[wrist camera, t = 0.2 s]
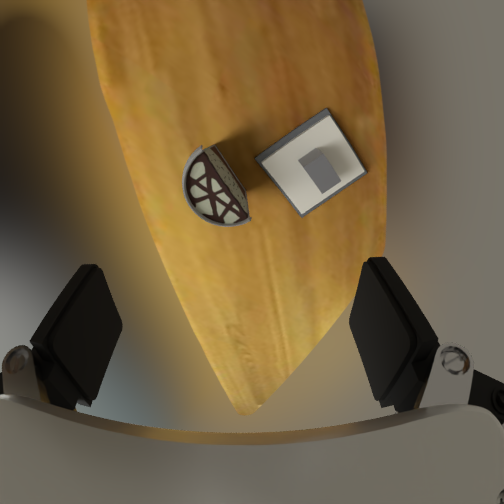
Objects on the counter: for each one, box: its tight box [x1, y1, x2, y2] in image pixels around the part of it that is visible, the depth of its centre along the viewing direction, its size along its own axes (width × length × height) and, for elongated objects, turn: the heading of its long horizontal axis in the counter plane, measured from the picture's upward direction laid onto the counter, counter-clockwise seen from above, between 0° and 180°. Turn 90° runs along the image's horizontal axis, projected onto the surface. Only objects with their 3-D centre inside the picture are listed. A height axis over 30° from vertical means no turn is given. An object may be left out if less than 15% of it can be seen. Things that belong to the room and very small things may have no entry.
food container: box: [182, 144, 251, 227], centre depth 40 cm, size 12×6×10 cm, turn 31°
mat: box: [255, 108, 367, 218], centre depth 43 cm, size 13×14×1 cm
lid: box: [261, 115, 365, 214], centre depth 40 cm, size 11×13×6 cm
